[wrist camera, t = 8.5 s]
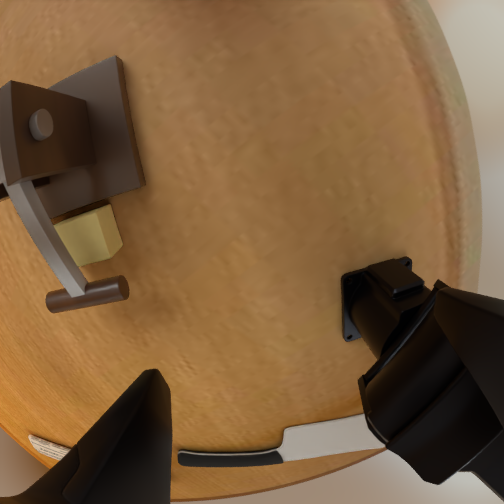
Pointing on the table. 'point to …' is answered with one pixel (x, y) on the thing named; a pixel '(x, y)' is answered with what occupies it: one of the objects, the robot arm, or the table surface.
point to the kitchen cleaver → (295, 445)
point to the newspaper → (48, 447)
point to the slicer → (70, 138)
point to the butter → (90, 236)
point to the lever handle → (60, 256)
